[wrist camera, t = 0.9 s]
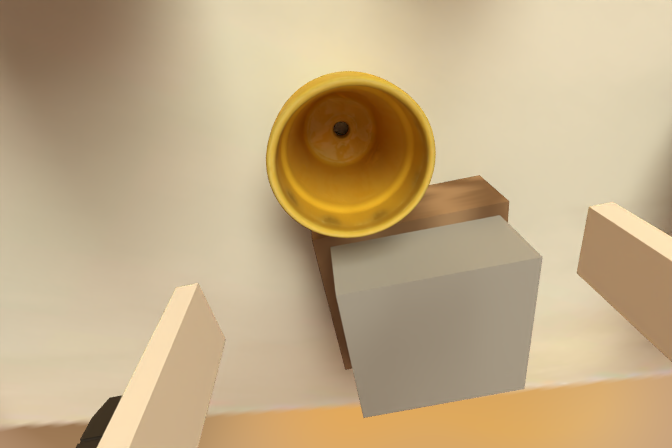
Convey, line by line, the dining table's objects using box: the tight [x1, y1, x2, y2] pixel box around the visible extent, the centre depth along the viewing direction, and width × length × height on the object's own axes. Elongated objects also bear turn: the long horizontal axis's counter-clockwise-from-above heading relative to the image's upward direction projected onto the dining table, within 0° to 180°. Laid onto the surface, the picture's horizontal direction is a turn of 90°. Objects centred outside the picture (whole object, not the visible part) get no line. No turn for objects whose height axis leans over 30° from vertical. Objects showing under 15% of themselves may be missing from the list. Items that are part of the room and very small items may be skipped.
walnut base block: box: [312, 175, 509, 370], centre depth 35 cm, size 16×16×6 cm
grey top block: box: [330, 215, 542, 418], centre depth 30 cm, size 14×14×6 cm
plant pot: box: [266, 71, 436, 238], centre depth 26 cm, size 10×10×10 cm
